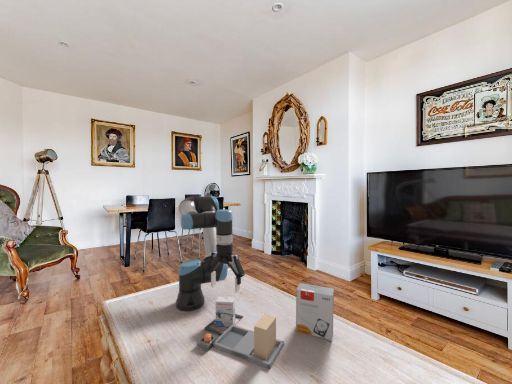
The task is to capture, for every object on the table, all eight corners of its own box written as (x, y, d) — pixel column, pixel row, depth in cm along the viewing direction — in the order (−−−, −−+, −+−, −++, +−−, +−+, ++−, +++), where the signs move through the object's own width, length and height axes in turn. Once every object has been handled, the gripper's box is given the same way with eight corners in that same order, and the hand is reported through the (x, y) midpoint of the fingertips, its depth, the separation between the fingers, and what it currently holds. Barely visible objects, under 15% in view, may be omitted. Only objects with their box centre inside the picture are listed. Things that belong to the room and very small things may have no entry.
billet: (254, 357, 90) (254, 326, 89) (264, 343, 98) (264, 314, 97) (266, 361, 87) (266, 329, 87) (276, 346, 95) (276, 317, 95)
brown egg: (202, 345, 98) (202, 336, 97) (207, 340, 100) (206, 332, 100) (208, 347, 96) (208, 339, 96) (212, 343, 99) (212, 334, 99)
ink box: (215, 326, 111) (214, 301, 110) (217, 320, 116) (217, 296, 115) (233, 327, 110) (233, 302, 109) (235, 321, 115) (235, 297, 114)
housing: (197, 347, 97) (196, 341, 97) (206, 338, 102) (206, 332, 102) (208, 351, 94) (208, 345, 94) (217, 342, 99) (217, 336, 99)
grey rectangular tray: (212, 349, 96) (212, 343, 96) (232, 329, 108) (232, 324, 108) (269, 371, 84) (269, 365, 84) (284, 347, 96) (284, 341, 96)
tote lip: (204, 329, 109) (204, 327, 109) (224, 312, 123) (224, 310, 123) (226, 337, 103) (226, 335, 103) (245, 318, 117) (245, 316, 117)
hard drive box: (295, 333, 105) (295, 289, 104) (298, 324, 112) (298, 282, 111) (332, 342, 99) (332, 295, 98) (333, 331, 106) (334, 287, 105)
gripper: (198, 242, 114) (199, 286, 114) (243, 248, 102) (243, 297, 103) (208, 238, 120) (209, 280, 121) (251, 244, 109) (252, 290, 109)
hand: (225, 288), depth 112 cm, fingers open, 13 cm apart
